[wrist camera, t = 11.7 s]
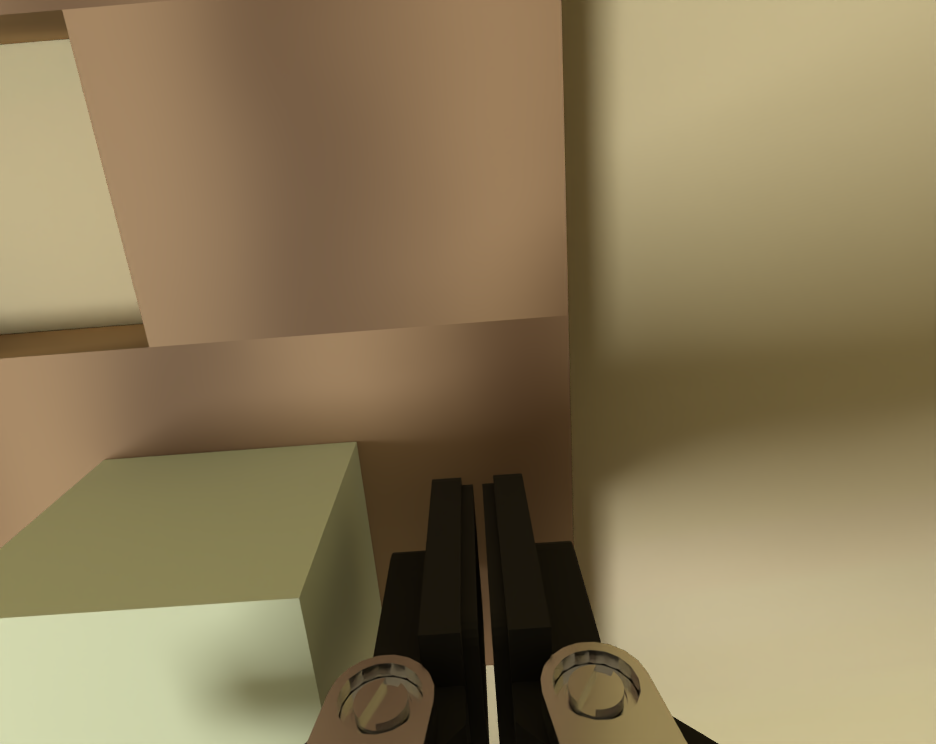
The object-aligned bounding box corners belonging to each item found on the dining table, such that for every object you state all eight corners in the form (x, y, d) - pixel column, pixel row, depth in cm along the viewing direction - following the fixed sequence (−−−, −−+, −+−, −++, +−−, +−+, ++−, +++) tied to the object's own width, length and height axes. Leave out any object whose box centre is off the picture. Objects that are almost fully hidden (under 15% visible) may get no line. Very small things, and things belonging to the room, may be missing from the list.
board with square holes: (535, -283, 10) (552, -385, 8) (568, 806, 18) (581, 881, 16) (-307, -206, 10) (-480, -287, 8) (102, 835, 19) (62, 912, 17)
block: (356, 441, 12) (299, 598, 8) (387, 644, 14) (353, 863, 10) (104, 459, 12) (-90, 624, 8) (165, 659, 14) (32, 883, 10)
